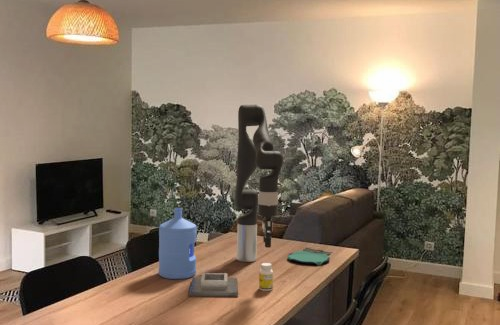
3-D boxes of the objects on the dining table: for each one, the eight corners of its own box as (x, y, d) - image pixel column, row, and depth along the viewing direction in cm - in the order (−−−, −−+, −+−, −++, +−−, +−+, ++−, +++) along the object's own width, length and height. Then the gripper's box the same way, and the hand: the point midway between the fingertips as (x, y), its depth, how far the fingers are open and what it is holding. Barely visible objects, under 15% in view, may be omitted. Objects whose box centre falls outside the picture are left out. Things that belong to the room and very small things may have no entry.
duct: (192, 281, 202) (192, 270, 202) (237, 281, 203) (237, 270, 202) (189, 296, 184) (189, 284, 184) (238, 296, 185) (238, 284, 185)
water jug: (165, 281, 200) (166, 212, 198) (153, 271, 214) (154, 206, 212) (201, 277, 207) (202, 210, 205) (188, 267, 221) (189, 204, 219)
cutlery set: (281, 262, 233) (281, 257, 233) (302, 249, 261) (302, 245, 260) (322, 268, 225) (322, 263, 225) (339, 254, 252) (340, 250, 252)
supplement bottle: (258, 286, 197) (258, 262, 196) (271, 286, 197) (272, 262, 197) (259, 291, 191) (260, 266, 191) (273, 291, 192) (274, 266, 191)
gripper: (257, 200, 199) (256, 240, 200) (259, 205, 185) (258, 249, 186) (276, 200, 199) (274, 240, 200) (279, 206, 185) (278, 249, 186)
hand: (267, 244), depth 193 cm, fingers open, 8 cm apart
